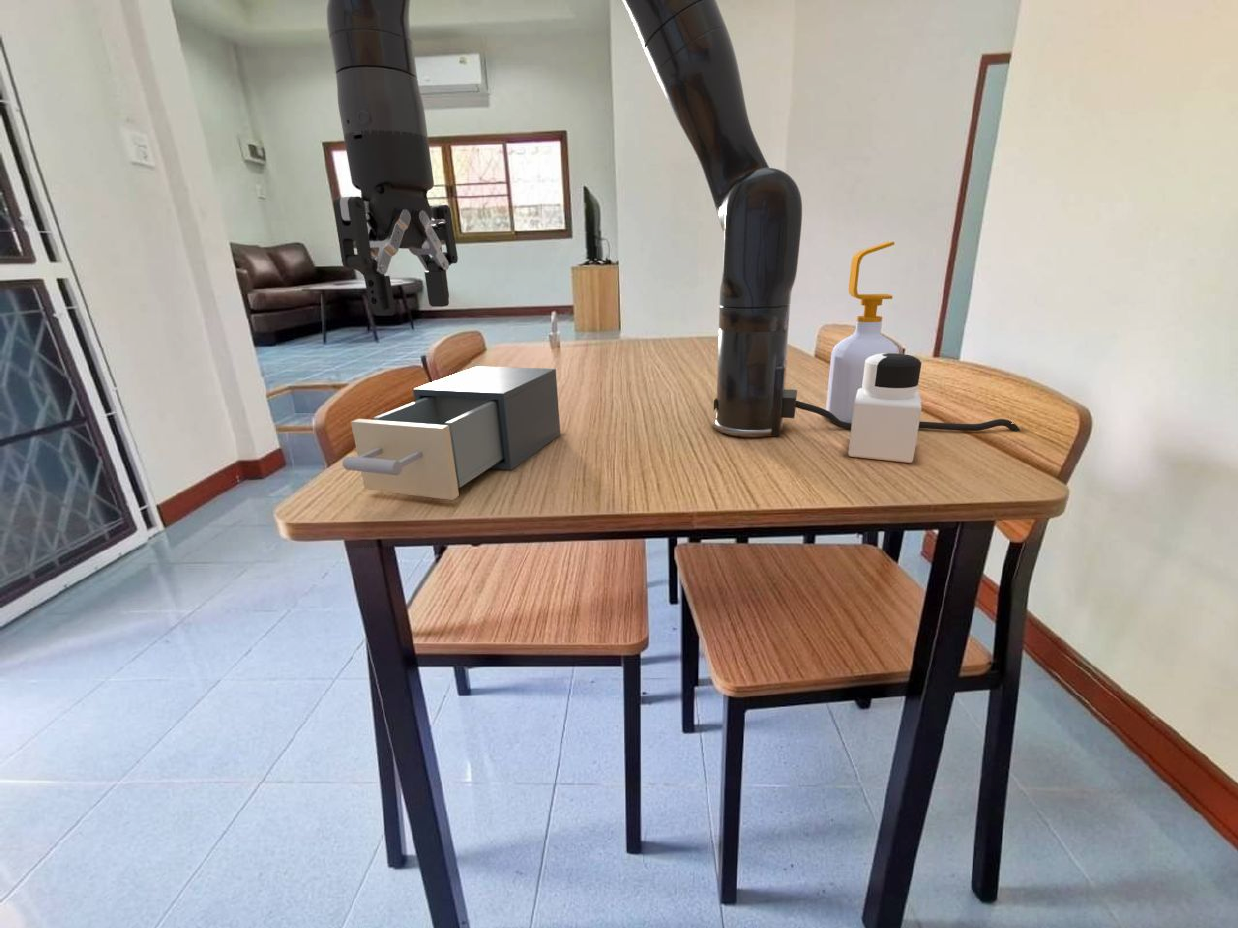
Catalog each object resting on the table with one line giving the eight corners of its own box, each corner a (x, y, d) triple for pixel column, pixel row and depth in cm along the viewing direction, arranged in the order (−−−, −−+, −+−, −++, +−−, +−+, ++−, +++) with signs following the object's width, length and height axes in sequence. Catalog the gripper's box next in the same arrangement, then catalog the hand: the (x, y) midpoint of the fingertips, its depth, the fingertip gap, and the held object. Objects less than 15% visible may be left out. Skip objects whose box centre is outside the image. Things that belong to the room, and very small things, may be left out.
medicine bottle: (911, 445, 72) (926, 351, 68) (912, 464, 66) (929, 362, 61) (851, 439, 75) (862, 349, 70) (847, 457, 69) (859, 359, 64)
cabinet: (511, 470, 68) (503, 393, 65) (424, 461, 72) (412, 388, 69) (560, 434, 81) (555, 368, 78) (485, 429, 85) (477, 366, 82)
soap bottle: (897, 429, 78) (926, 240, 69) (829, 427, 80) (848, 243, 71) (882, 412, 86) (906, 241, 78) (820, 410, 88) (837, 243, 79)
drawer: (424, 519, 54) (411, 443, 51) (331, 507, 58) (314, 435, 55) (515, 456, 70) (509, 396, 67) (438, 449, 74) (429, 392, 71)
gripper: (405, 149, 61) (428, 304, 66) (292, 124, 48) (332, 318, 54) (464, 142, 58) (482, 304, 64) (360, 115, 46) (394, 319, 51)
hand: (413, 310), depth 59 cm, fingers open, 8 cm apart
